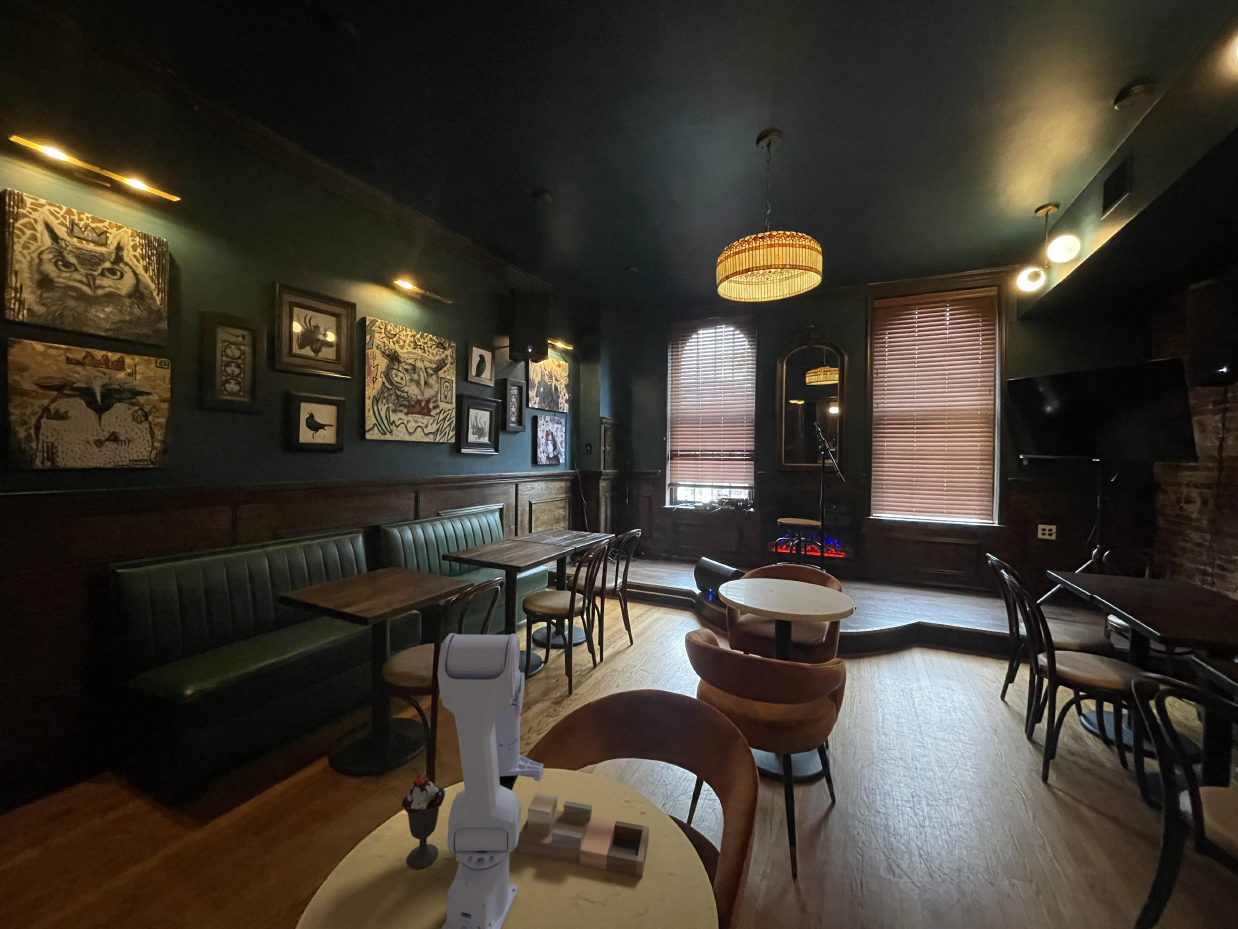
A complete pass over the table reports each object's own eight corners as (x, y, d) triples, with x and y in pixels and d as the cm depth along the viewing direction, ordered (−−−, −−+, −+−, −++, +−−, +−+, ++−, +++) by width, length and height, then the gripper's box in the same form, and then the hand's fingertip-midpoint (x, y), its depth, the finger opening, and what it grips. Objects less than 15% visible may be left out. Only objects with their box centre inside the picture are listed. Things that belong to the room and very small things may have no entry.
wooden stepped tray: (642, 877, 79) (643, 850, 79) (517, 852, 83) (518, 826, 83) (648, 840, 87) (649, 815, 86) (533, 819, 91) (534, 795, 90)
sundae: (400, 848, 83) (401, 762, 83) (441, 836, 86) (443, 752, 86) (400, 879, 77) (402, 787, 77) (445, 865, 80) (447, 776, 80)
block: (549, 835, 84) (550, 812, 84) (527, 830, 85) (528, 808, 85) (556, 818, 88) (557, 796, 88) (535, 814, 89) (536, 792, 88)
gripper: (549, 730, 90) (547, 802, 90) (476, 719, 93) (475, 789, 93) (536, 753, 83) (533, 831, 83) (457, 740, 86) (455, 816, 86)
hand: (501, 811), depth 88 cm, fingers closed
